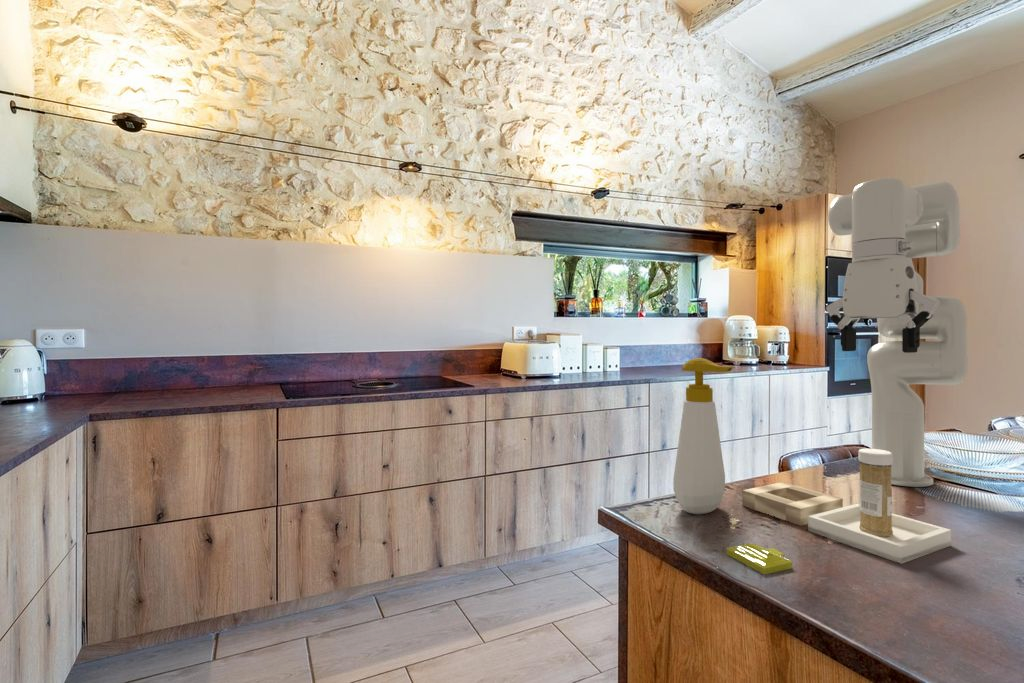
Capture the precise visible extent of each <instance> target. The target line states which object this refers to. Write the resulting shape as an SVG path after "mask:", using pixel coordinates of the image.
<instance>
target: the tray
mask: <svg viewBox="0 0 1024 683" xmlns="http://www.w3.org/2000/svg"><path fill="white" fill-rule="evenodd" d="M807 527H808V528H807V531H808V532H810V533H813V534H816V535H819V536H820V537H824V538H828V539H830V540H833V541H836V542H839V543H841V544H845V545H846V546H850V547H852V548H856V549H858V550H861V551H864V552H866V553H869V554H872V555H876V556H878V557H881V558H883V559H887V560H890V561H893V562H895V563H899V564H901V565H902V564H906V563H907V562H911V561H913V560H916V559H919V558H921V557H924V556H926V555H929V554H932V553H935V552H938V551H940V550H943V549H945V548H948V547H951V546H952V529H951V528H947V527H946V528H945V527H943V526H939V525H935V524H931V523H928V522H925V521H921V520H918V519H917V520H916V519H913V518H911V517H906V516H903V515H900V514H896V513H893V512H892V531H893V534H892V535H891V536H888V537H881V536H875V535H871V534H868V533H865V532H863V531H862V530H860V528H859V527H860V503H855V504H854V503H853V504H851V505H846V506H843V507H842V508H838V509H834V510H830V511H826V512H823V513H819V514H815V515H811V516H808V524H807Z"/></svg>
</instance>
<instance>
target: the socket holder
mask: <svg viewBox="0 0 1024 683" xmlns="http://www.w3.org/2000/svg"><path fill="white" fill-rule="evenodd" d="M741 492H742V495H741V499H742V503H741V505H742V506H743V507H746V508H747V509H751V510H755V511H756V512H760V513H763V514H765V513H766V515H768V514H769V515H768V516H770V517H771V516H772V517H774V516H775V518H776V519H777V518H778V519H779V520H783V521H785V520H786V522H788V521H789V523H791V524H795V525H798V526H802V527H803V526H806V525H808V516H811V515H815V514H819V513H823V512H826V511H830V510H834V509H838V508H842V507H844V506H843V505H844V504H843V502H844V499H843V497H838V496H835V495H830V494H827V493H824V492H821V491H816V490H812V489H809V488H807V487H806V488H805V487H802V486H800V485H795V484H791V483H787V482H784V481H780V482H776V483H771V484H767V485H766V484H765V485H761V486H757V487H755V486H754V487H752V488H746V489H742V491H741Z"/></svg>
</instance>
